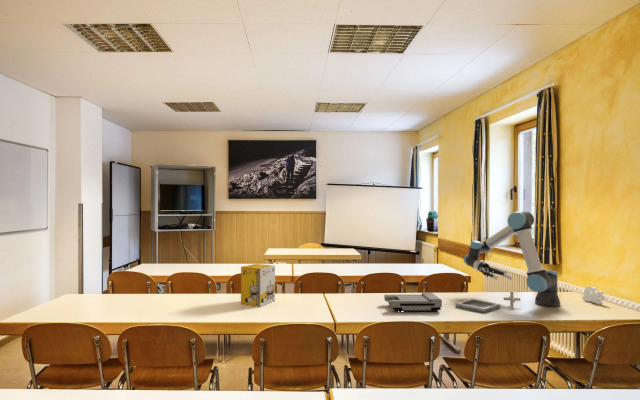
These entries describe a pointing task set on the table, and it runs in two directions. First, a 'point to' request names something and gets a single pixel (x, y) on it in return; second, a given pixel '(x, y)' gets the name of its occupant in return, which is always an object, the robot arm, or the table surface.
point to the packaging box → (257, 284)
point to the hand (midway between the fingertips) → (504, 278)
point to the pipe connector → (511, 299)
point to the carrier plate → (478, 305)
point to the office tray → (414, 302)
